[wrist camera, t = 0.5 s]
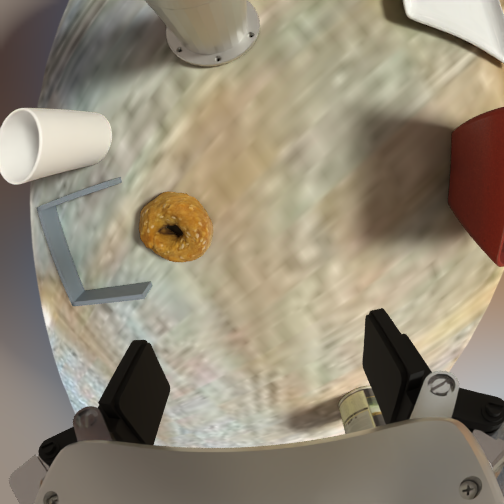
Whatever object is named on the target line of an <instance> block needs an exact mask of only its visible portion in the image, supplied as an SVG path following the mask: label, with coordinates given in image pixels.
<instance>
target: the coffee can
mask: <svg viewBox="0 0 504 504" xmlns="http://www.w3.org/2000/svg"><path fill="white" fill-rule="evenodd" d="M338 407H339V410H340V414H341V417H342V422H343V425H344V430H345V434H348V433H353V432H358V431H362V430H366V429H370V428H374V427H378V426H382V425H386V424H385V421H384V418H383V416H382V413H381V411H380V408H379V406H378V403H377V401H376V398H375V396H374V393H373V391H372V388H371V386H364V387H360V388H357V389H355V390H352V391H351V392H349V393H347V394H346V395H345V396H344V397H343V398H342V399H341V400H340V402H339V405H338Z"/></svg>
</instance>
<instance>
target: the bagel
mask: <svg viewBox="0 0 504 504" xmlns="http://www.w3.org/2000/svg"><path fill="white" fill-rule="evenodd" d="M169 225H170V226H174V225H177V226H178V227H179V228H180V229H181V230H182V232H183V235H181V236H179V235H178V234H176V233H174V232H173V231H171V230H170V229H169V228H166V227H167V226H169ZM139 232H140V239H141V240H142V242H143V243H144V244H145V246H146V247H147V248H150V249H152V250H153V251H154V252H155V253H156V254H158V255H159V256H161V257H163V258H164V259H167V260H169V261H173V262H186V261H192V260H196V259H197V258H199V257H201V256H202V255H203V254H204V253H205V252H206V250H207V249H208V248H209V247H210V245H211V240H212V237H213V225H212V222H211V220H210V218H209V216H208V214H207V212H206V210H205V209H204V208H203V206H202V205H201V204H200V203H199V201H198V200H196V199H195V198H194V197H191V196H189V195H187V194H184V193H176V192H164V193H162V194H160V195H159V196H158V197H157V198H155V199H154V200H152V201H151V202H149V203H148V204H147V205H146V206H144V207H143V209H142V210H141V212H140V222H139Z"/></svg>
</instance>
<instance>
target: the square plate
mask: <svg viewBox="0 0 504 504" xmlns="http://www.w3.org/2000/svg"><path fill="white" fill-rule="evenodd" d="M403 6H404V10H405V13H406V15H407V17H408V18H410V19H412V20H414V21H417V22H419V23H422V24H425V25H428V26H430V27H433V28H436V29H439V30H442V31H444V32H447V33H449V34H452V35H454V36H456V37H459V38H461V39H463V40H465V41H467V42H469V43H471V44H473V45H475V46H476V47H478V48H480V49H482V50H483V51H485V52H487V53H488V54H490V55H491V56H493V57H494V58H496V59H498V60H499V61H501V62H502V63H504V14H503V11H502V8H501V5H500V2H499V0H403Z"/></svg>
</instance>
